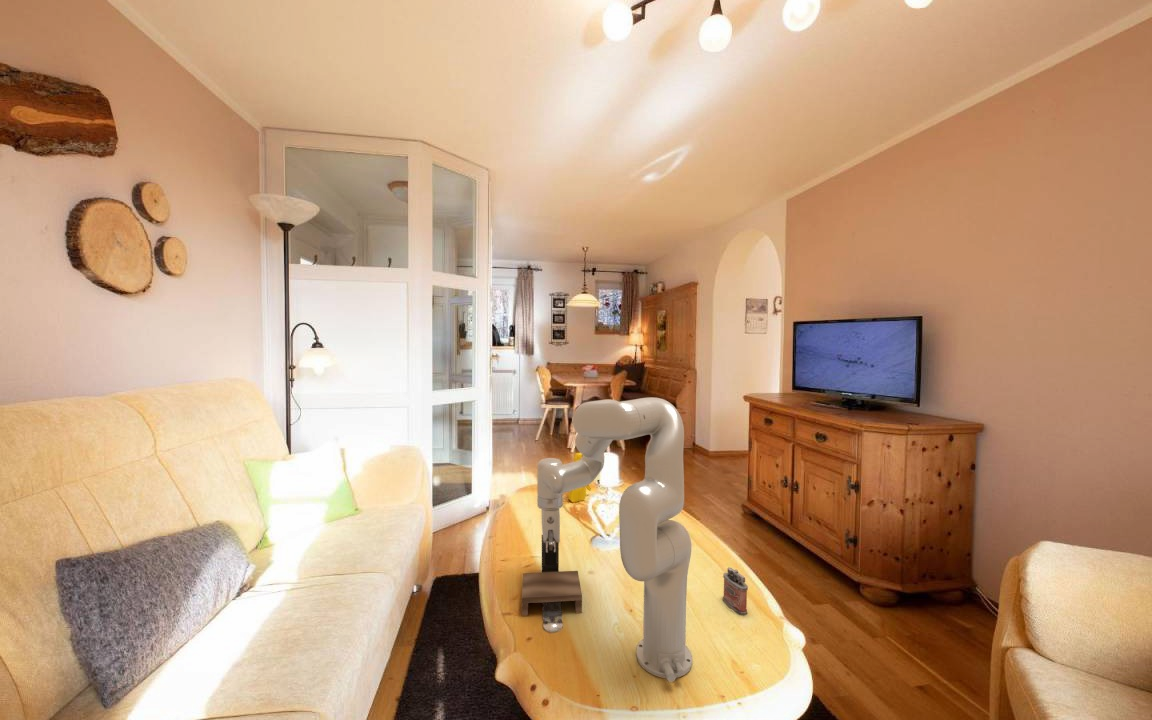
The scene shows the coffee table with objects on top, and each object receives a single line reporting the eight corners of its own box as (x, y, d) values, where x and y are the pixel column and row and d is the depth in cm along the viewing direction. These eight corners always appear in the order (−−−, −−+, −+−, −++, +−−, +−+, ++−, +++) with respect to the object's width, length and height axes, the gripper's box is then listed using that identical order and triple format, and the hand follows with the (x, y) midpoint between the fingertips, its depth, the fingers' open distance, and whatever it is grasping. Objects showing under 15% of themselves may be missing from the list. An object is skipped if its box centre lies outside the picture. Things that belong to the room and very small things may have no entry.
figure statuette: (588, 494, 204) (589, 447, 203) (597, 499, 197) (597, 451, 196) (554, 500, 196) (554, 452, 194) (562, 506, 189) (562, 456, 187)
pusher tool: (561, 619, 114) (562, 566, 113) (542, 620, 113) (542, 567, 112) (558, 578, 133) (558, 533, 132) (541, 579, 132) (541, 534, 131)
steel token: (563, 633, 109) (563, 628, 109) (543, 634, 108) (543, 629, 108) (562, 620, 114) (562, 615, 114) (542, 621, 113) (542, 616, 113)
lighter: (719, 599, 122) (720, 565, 122) (729, 597, 123) (730, 562, 123) (740, 616, 115) (740, 580, 114) (750, 614, 116) (751, 577, 115)
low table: (581, 612, 116) (582, 594, 116) (521, 616, 115) (521, 597, 114) (577, 587, 128) (577, 570, 128) (522, 589, 127) (522, 573, 126)
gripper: (564, 511, 121) (564, 571, 122) (560, 490, 138) (560, 542, 139) (537, 512, 121) (537, 572, 121) (537, 490, 138) (537, 543, 139)
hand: (550, 556), depth 130 cm, fingers open, 9 cm apart
